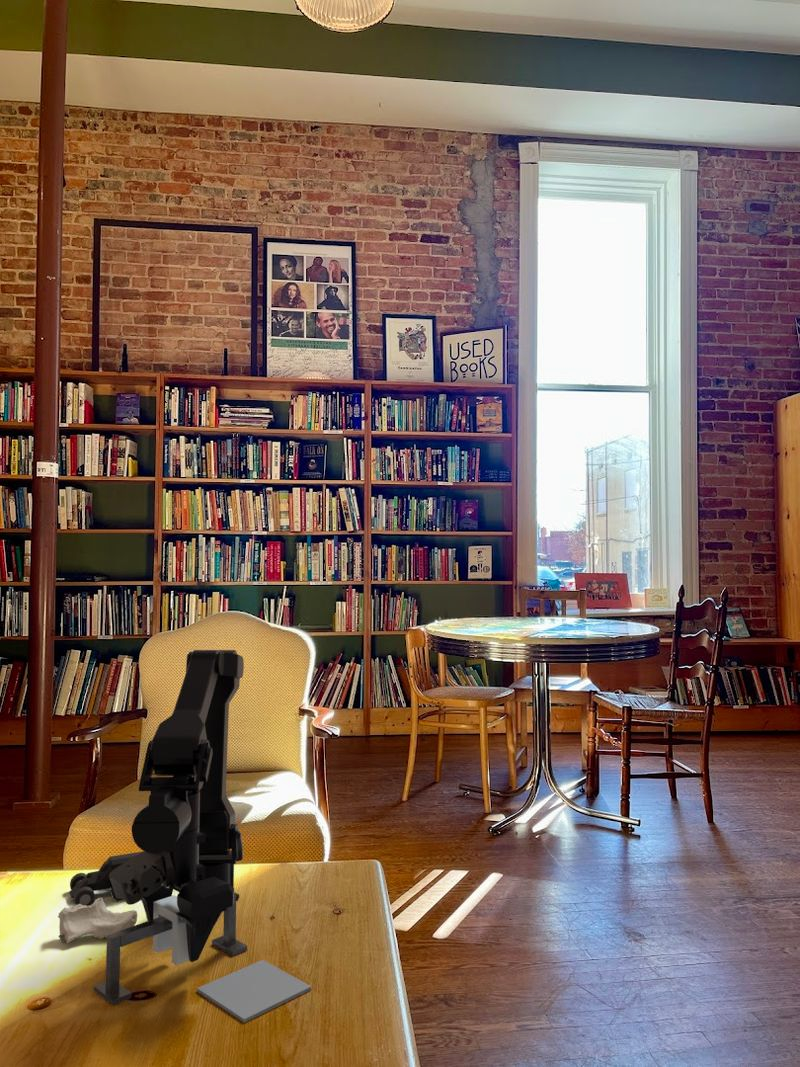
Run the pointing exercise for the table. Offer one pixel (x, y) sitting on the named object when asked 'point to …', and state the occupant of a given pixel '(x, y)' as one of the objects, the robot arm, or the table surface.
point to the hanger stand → (112, 986)
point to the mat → (253, 990)
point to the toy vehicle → (96, 880)
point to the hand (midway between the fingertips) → (174, 949)
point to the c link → (171, 931)
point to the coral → (93, 921)
